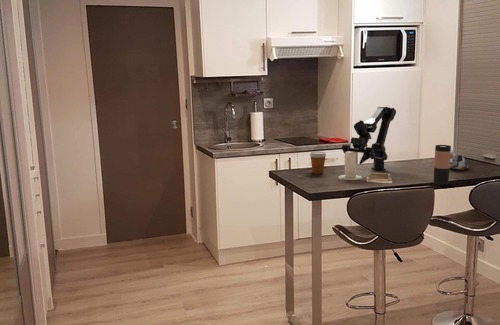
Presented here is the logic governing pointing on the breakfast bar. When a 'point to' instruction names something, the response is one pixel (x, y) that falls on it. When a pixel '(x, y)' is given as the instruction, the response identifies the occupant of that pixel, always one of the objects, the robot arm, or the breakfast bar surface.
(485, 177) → the breakfast bar surface
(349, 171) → the jug
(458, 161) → the lucky cat figurine
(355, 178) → the mat
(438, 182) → the travel mug
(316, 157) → the disposable coffee cup
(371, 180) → the wooden tray
